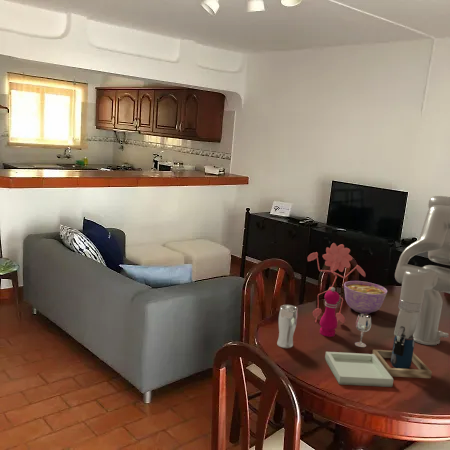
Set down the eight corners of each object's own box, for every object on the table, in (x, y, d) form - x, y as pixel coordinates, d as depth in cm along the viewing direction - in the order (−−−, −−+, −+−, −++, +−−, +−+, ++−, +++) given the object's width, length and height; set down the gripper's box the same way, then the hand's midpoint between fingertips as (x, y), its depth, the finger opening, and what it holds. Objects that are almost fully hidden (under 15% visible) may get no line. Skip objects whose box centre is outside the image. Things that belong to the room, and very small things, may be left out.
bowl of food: (388, 310, 233) (392, 287, 231) (377, 322, 216) (381, 297, 214) (348, 300, 243) (351, 278, 241) (334, 310, 227) (337, 287, 224)
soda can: (413, 367, 175) (418, 336, 172) (404, 373, 170) (410, 341, 167) (395, 360, 179) (400, 330, 177) (386, 365, 175) (391, 334, 172)
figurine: (356, 333, 202) (367, 251, 196) (296, 319, 212) (306, 241, 206) (361, 322, 215) (372, 245, 210) (305, 309, 226) (314, 236, 220)
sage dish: (372, 361, 177) (374, 354, 176) (392, 386, 159) (393, 379, 159) (324, 358, 176) (325, 351, 175) (338, 384, 158) (340, 376, 157)
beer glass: (295, 343, 187) (299, 306, 184) (292, 350, 180) (296, 312, 177) (278, 339, 189) (282, 303, 186) (273, 346, 182) (278, 308, 180)
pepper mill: (336, 338, 194) (342, 291, 191) (318, 335, 196) (324, 288, 192) (335, 331, 201) (342, 286, 198) (318, 329, 203) (324, 283, 199)
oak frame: (411, 357, 183) (412, 351, 182) (430, 378, 168) (431, 371, 167) (371, 355, 182) (372, 349, 181) (387, 376, 166) (388, 369, 166)
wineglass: (360, 348, 187) (364, 319, 184) (349, 342, 192) (353, 314, 189) (371, 346, 189) (375, 318, 187) (360, 340, 194) (364, 312, 192)
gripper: (406, 297, 179) (399, 340, 182) (391, 307, 165) (384, 354, 168) (427, 303, 175) (419, 347, 178) (414, 313, 161) (405, 361, 164)
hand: (402, 350), depth 173 cm, fingers open, 9 cm apart
